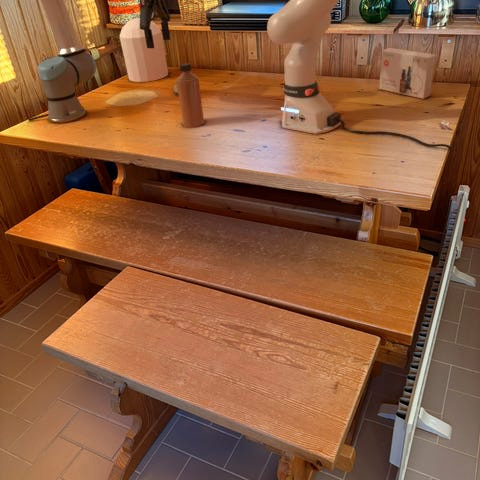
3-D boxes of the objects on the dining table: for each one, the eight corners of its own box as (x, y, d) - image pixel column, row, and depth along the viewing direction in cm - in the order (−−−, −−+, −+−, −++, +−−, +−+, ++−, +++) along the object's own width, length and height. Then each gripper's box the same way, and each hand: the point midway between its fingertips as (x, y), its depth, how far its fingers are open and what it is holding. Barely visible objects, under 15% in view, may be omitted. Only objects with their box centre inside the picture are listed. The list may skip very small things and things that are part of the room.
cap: (184, 68, 171) (183, 62, 170) (193, 69, 169) (192, 63, 168) (178, 71, 168) (177, 65, 167) (187, 72, 167) (186, 66, 165)
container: (160, 81, 233) (149, 21, 217) (121, 82, 238) (108, 23, 222) (174, 69, 249) (165, 13, 233) (138, 70, 254) (126, 15, 238)
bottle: (191, 118, 185) (182, 61, 173) (208, 120, 181) (201, 63, 169) (178, 125, 179) (169, 67, 167) (196, 128, 175) (187, 69, 163)
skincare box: (377, 89, 194) (381, 50, 185) (385, 86, 197) (389, 47, 188) (423, 99, 180) (429, 56, 171) (430, 95, 183) (437, 53, 174)
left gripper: (141, -15, 156) (152, 51, 168) (173, -24, 175) (181, 36, 187) (122, -14, 158) (134, 51, 170) (155, -23, 177) (164, 36, 189)
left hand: (159, 43), depth 179 cm, fingers open, 13 cm apart
